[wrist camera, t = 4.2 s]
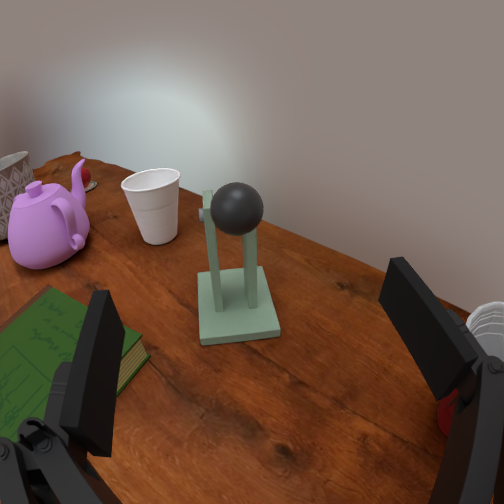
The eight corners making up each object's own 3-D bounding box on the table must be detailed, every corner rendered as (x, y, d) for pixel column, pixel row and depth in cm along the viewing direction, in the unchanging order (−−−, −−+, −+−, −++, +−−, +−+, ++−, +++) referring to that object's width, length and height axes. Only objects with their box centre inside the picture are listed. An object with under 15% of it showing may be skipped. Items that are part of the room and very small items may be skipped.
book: (57, 303, 39) (48, 284, 37) (150, 356, 32) (141, 334, 30) (-49, 412, 20) (-66, 395, 18) (21, 516, 14) (-2, 505, 12)
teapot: (134, 223, 58) (121, 156, 50) (55, 291, 41) (24, 212, 33) (67, 212, 64) (54, 158, 57) (0, 263, 48) (-24, 202, 40)
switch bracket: (280, 336, 35) (286, 221, 27) (201, 345, 34) (179, 231, 26) (262, 273, 45) (261, 173, 36) (198, 279, 44) (185, 180, 35)
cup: (199, 234, 54) (192, 174, 48) (153, 259, 48) (139, 195, 42) (166, 217, 59) (158, 164, 53) (124, 239, 53) (111, 182, 47)
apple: (85, 195, 72) (80, 172, 69) (65, 195, 74) (60, 173, 70) (102, 182, 79) (97, 161, 75) (82, 183, 80) (77, 163, 77)
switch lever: (270, 234, 20) (264, 177, 19) (212, 239, 19) (207, 181, 19) (246, 228, 34) (243, 194, 33) (212, 231, 33) (209, 197, 33)
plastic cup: (395, 401, 26) (442, 320, 20) (463, 364, 29) (509, 287, 22) (442, 483, 18) (522, 427, 11) (508, 430, 20) (575, 361, 13)
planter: (4, 253, 50) (-22, 183, 41) (-28, 244, 55) (-49, 186, 45) (58, 210, 66) (42, 148, 56) (19, 207, 70) (5, 154, 61)
